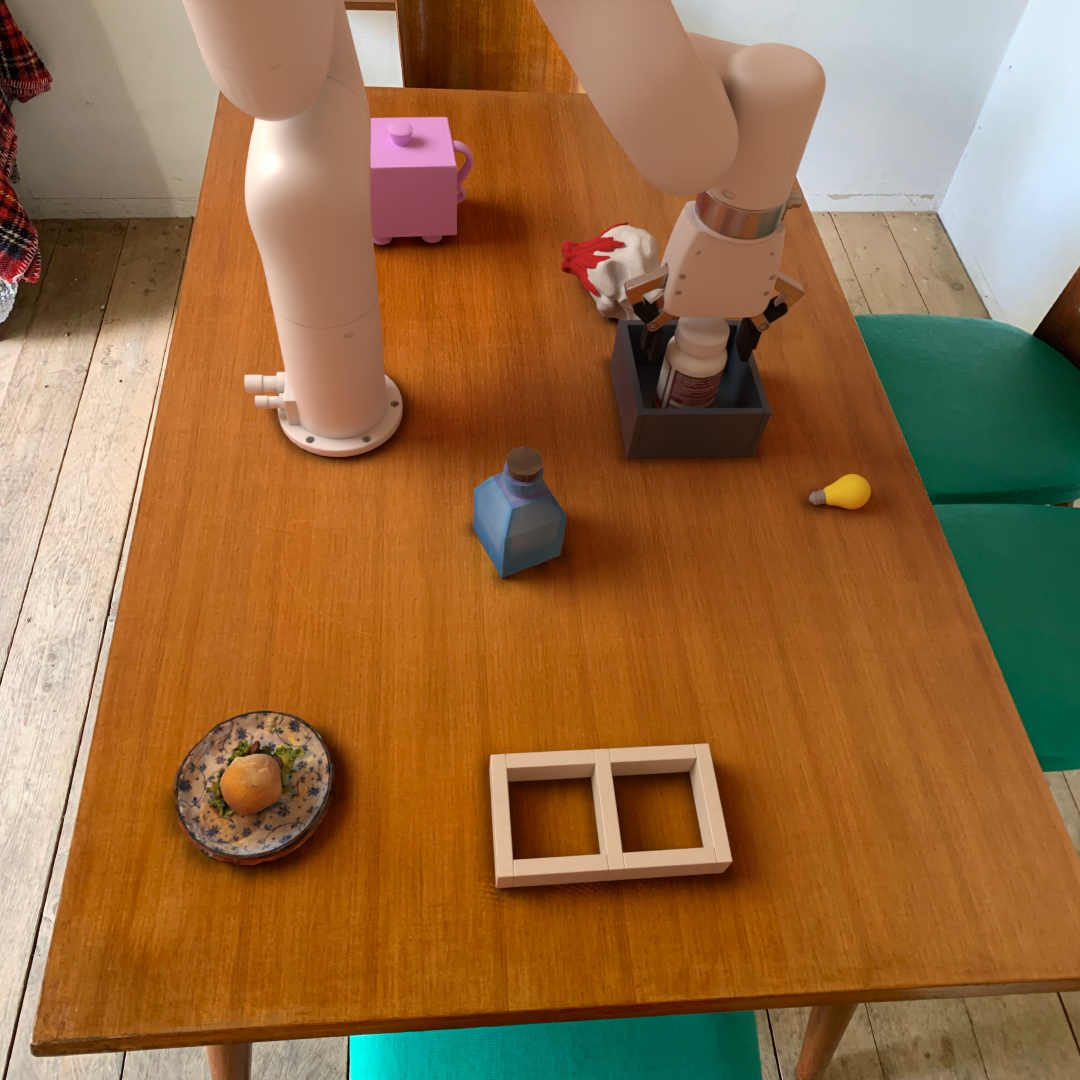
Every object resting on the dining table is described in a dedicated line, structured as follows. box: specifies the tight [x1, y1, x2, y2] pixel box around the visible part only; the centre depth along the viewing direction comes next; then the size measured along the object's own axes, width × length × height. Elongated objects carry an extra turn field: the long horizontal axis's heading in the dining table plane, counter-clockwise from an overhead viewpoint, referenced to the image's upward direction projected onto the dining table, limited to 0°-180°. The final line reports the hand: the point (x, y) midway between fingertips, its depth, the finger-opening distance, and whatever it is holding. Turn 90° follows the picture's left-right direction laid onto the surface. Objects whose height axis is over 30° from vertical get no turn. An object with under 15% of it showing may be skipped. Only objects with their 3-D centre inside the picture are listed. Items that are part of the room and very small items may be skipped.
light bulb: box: [808, 473, 872, 510], centre depth 92 cm, size 3×6×4 cm, turn 94°
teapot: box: [370, 116, 475, 246], centre depth 109 cm, size 20×10×12 cm, turn 99°
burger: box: [172, 709, 336, 866], centre depth 69 cm, size 12×12×8 cm
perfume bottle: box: [472, 446, 568, 579], centre depth 83 cm, size 6×6×12 cm
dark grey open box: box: [609, 319, 773, 459], centre depth 97 cm, size 14×14×7 cm
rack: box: [488, 742, 733, 889], centre depth 71 cm, size 18×9×3 cm, turn 95°
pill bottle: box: [654, 317, 730, 409], centre depth 94 cm, size 6×6×11 cm
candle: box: [560, 222, 664, 320], centre depth 106 cm, size 9×11×15 cm
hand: (695, 352), depth 93 cm, fingers open, 9 cm apart
